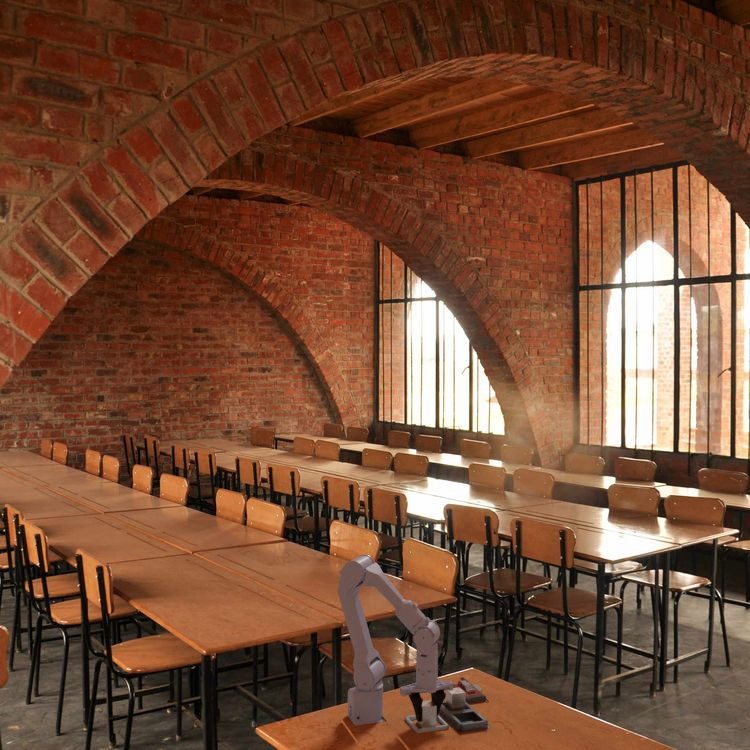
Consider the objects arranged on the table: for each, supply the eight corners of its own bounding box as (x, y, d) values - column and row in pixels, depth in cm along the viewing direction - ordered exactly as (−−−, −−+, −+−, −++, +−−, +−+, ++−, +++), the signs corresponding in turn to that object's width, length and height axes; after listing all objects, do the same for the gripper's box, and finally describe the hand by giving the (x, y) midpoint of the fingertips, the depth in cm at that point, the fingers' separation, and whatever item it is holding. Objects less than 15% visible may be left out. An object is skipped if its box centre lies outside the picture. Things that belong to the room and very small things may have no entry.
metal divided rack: (458, 737, 216) (458, 725, 216) (435, 713, 232) (435, 702, 232) (490, 732, 219) (490, 721, 219) (464, 709, 234) (464, 698, 234)
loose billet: (422, 730, 219) (422, 707, 219) (416, 724, 223) (416, 701, 223) (436, 728, 220) (436, 705, 220) (430, 722, 224) (430, 700, 224)
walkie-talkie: (495, 706, 237) (464, 682, 256) (495, 691, 237) (464, 667, 256) (468, 711, 234) (438, 685, 253) (468, 695, 234) (438, 671, 253)
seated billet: (452, 716, 227) (452, 694, 227) (446, 710, 231) (446, 689, 231) (465, 714, 228) (465, 692, 228) (459, 708, 232) (459, 687, 232)
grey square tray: (417, 737, 216) (417, 730, 216) (404, 723, 224) (404, 716, 224) (448, 733, 219) (448, 725, 219) (435, 719, 227) (435, 712, 227)
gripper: (406, 676, 215) (406, 729, 216) (458, 670, 220) (457, 721, 220) (397, 667, 222) (397, 718, 222) (447, 661, 227) (447, 711, 227)
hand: (426, 719), depth 222 cm, fingers closed on loose billet, 4 cm apart
